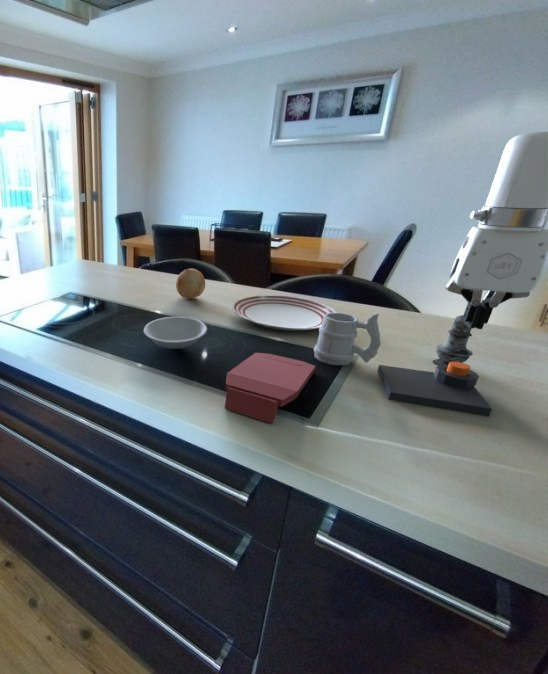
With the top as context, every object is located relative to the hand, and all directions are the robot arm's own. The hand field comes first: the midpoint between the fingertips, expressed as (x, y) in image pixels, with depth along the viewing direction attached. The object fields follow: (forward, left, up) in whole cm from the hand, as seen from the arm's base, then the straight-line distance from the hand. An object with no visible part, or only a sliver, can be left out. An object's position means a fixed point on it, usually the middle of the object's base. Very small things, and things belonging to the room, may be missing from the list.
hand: (472, 326), depth 69 cm
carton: (+31, +12, -13) cm, 36 cm away
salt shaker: (-3, -12, -13) cm, 17 cm away
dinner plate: (+30, -30, -13) cm, 44 cm away
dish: (+53, 0, -13) cm, 55 cm away
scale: (+4, +3, -13) cm, 14 cm away
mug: (+17, -6, -13) cm, 22 cm away
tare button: (0, 0, -10) cm, 9 cm away
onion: (+59, -42, -13) cm, 74 cm away
